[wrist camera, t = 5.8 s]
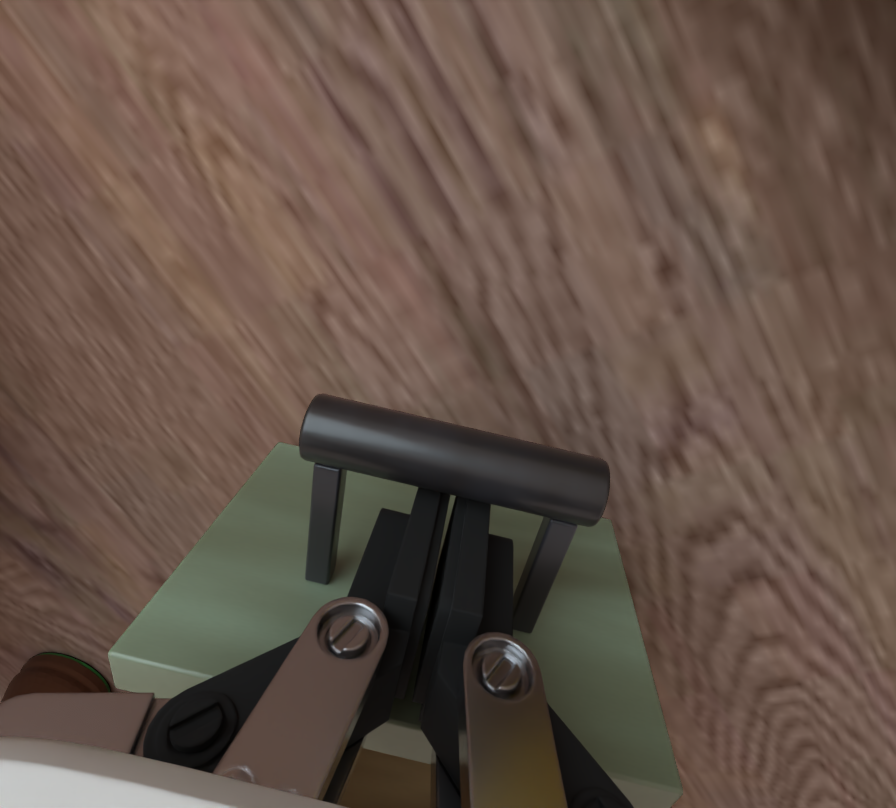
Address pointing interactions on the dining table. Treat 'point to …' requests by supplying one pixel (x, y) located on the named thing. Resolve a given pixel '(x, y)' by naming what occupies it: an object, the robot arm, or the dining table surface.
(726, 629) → the dining table surface
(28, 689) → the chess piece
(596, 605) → the drawer
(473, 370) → the dining table surface
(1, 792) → the robot arm
